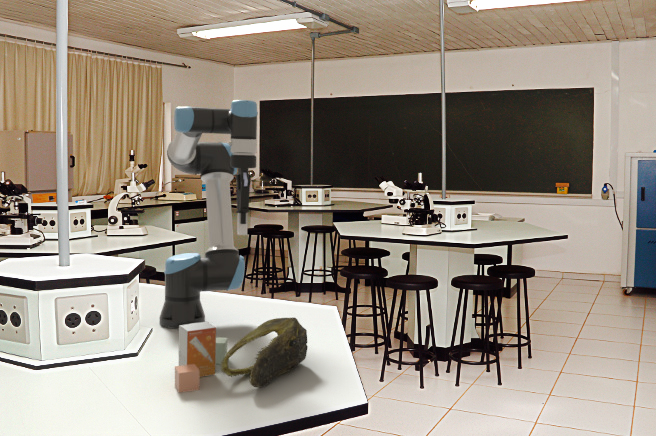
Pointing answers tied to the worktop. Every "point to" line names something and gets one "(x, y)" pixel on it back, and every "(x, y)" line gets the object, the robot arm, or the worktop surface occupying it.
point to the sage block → (220, 349)
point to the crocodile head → (272, 351)
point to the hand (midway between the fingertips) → (242, 234)
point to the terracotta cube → (186, 378)
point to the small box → (198, 347)
